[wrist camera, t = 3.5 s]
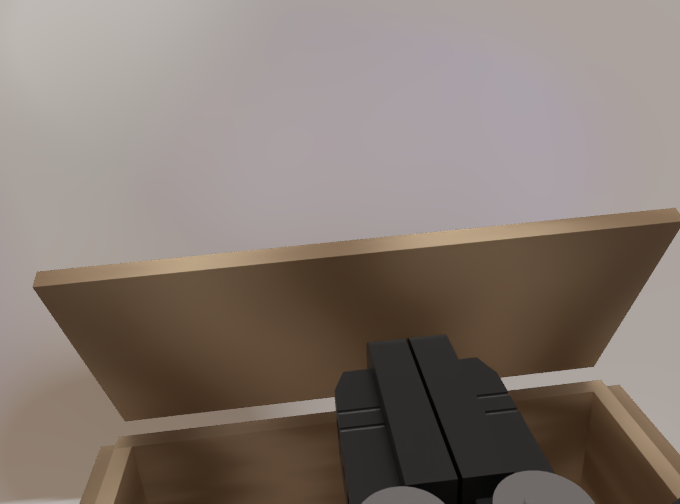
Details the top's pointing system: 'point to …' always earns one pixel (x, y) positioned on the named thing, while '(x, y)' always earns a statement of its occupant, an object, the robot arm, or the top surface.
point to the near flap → (351, 308)
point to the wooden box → (325, 468)
